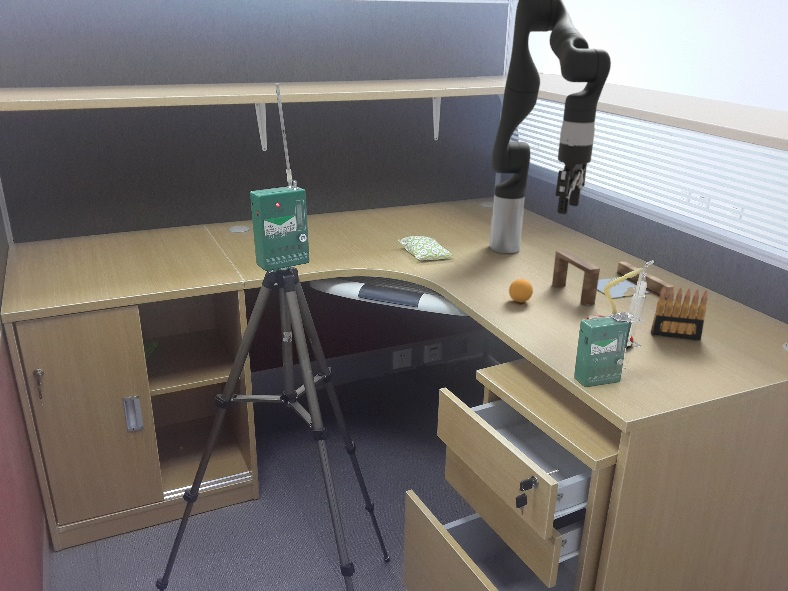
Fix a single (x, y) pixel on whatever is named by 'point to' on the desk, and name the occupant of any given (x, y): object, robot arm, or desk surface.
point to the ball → (520, 290)
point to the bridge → (589, 269)
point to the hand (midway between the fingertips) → (568, 209)
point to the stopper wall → (652, 281)
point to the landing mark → (616, 287)
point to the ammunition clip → (679, 316)
